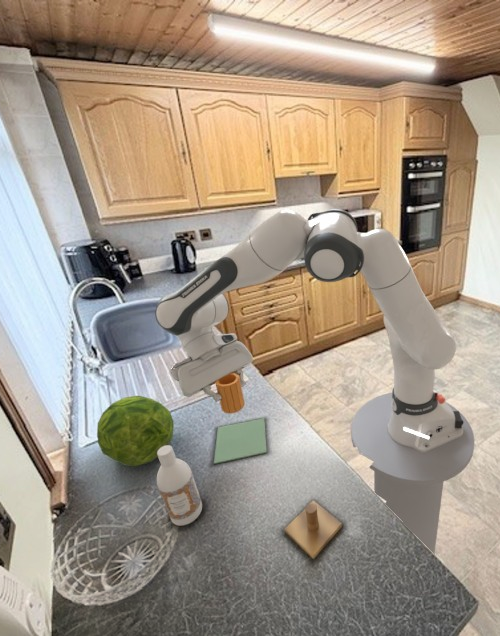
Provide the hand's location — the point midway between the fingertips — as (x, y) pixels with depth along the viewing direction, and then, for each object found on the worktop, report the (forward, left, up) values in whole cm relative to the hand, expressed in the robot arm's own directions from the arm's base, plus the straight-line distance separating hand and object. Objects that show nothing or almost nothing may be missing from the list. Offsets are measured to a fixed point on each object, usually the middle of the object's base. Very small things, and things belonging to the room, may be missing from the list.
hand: (231, 392), depth 93 cm
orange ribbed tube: (0, -1, -5) cm, 5 cm away
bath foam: (+12, +19, -18) cm, 29 cm away
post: (-16, +31, -18) cm, 39 cm away
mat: (0, -1, -18) cm, 18 cm away
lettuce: (+28, -6, -18) cm, 34 cm away
